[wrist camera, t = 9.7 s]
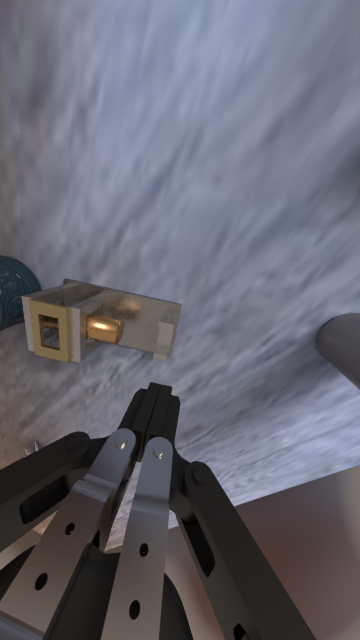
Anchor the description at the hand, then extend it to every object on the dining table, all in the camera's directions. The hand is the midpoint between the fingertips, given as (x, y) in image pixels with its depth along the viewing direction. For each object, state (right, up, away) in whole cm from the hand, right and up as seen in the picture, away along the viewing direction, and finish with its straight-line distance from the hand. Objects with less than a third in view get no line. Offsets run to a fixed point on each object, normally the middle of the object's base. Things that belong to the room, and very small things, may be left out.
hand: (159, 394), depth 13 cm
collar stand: (-10, +5, +24) cm, 26 cm away
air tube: (-15, +5, +21) cm, 26 cm away
